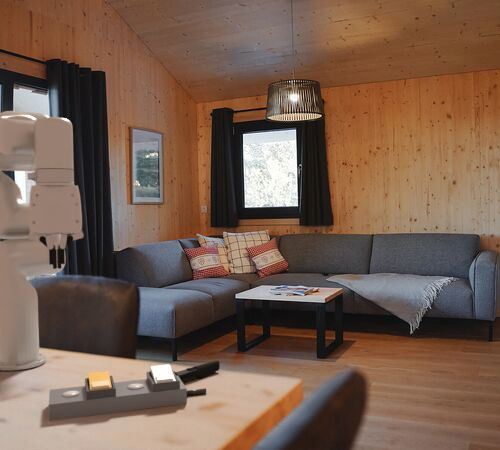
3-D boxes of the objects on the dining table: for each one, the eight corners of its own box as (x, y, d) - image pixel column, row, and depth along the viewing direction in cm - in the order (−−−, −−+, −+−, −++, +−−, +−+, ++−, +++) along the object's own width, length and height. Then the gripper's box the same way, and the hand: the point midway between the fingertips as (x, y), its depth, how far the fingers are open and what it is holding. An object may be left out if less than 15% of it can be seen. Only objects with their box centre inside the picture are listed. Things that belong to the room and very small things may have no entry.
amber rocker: (88, 377, 115) (88, 371, 114) (108, 375, 116) (108, 369, 116) (90, 394, 108) (90, 387, 108) (111, 391, 109) (111, 385, 109)
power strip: (50, 404, 114) (49, 381, 113) (200, 386, 123) (200, 365, 123) (49, 420, 105) (48, 396, 105) (211, 400, 115) (210, 377, 115)
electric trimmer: (223, 374, 134) (223, 361, 133) (171, 389, 122) (171, 375, 122) (213, 371, 136) (213, 358, 136) (160, 386, 125) (160, 371, 125)
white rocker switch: (150, 370, 119) (150, 364, 118) (169, 368, 120) (169, 362, 120) (155, 387, 112) (155, 381, 112) (175, 385, 113) (175, 378, 113)
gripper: (13, 178, 110) (16, 272, 110) (93, 178, 114) (95, 268, 115) (16, 179, 117) (19, 268, 118) (91, 179, 122) (93, 264, 122)
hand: (57, 267), depth 116 cm, fingers closed
